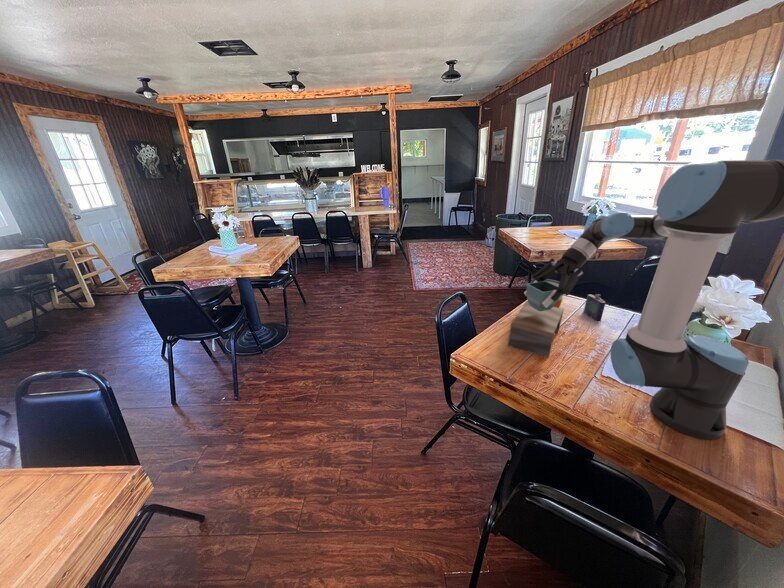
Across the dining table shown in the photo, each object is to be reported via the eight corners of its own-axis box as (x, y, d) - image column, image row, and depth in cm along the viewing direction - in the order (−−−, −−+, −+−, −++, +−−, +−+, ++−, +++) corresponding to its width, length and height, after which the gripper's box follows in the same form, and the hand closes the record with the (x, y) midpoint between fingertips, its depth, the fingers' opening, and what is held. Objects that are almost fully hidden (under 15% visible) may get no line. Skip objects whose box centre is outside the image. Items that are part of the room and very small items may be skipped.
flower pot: (541, 301, 123) (545, 280, 119) (558, 311, 115) (563, 288, 112) (522, 305, 120) (526, 283, 117) (539, 315, 113) (543, 292, 109)
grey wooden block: (548, 357, 111) (553, 333, 107) (508, 345, 119) (511, 322, 114) (558, 330, 128) (563, 308, 123) (523, 321, 135) (526, 300, 131)
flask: (581, 312, 142) (587, 290, 138) (587, 311, 142) (593, 290, 138) (597, 322, 134) (603, 299, 129) (603, 321, 134) (609, 298, 130)
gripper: (609, 269, 106) (561, 318, 108) (559, 252, 124) (520, 294, 127) (601, 255, 102) (552, 307, 104) (551, 240, 121) (510, 284, 123)
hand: (534, 300), depth 115 cm, fingers closed on flower pot, 9 cm apart
